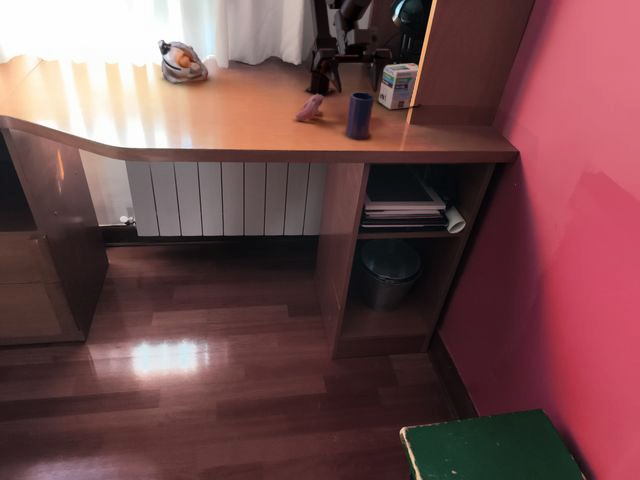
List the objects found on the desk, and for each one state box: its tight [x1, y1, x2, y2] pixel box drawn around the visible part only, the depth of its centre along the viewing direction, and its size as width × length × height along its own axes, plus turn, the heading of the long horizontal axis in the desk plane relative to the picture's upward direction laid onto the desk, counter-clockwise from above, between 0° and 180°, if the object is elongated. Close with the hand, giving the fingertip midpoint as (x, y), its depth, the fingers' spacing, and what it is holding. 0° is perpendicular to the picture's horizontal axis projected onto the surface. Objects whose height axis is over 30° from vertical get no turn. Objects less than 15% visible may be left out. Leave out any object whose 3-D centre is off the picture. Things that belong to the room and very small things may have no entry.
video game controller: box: [295, 93, 325, 122], centre depth 121 cm, size 10×5×7 cm, turn 168°
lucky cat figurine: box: [157, 39, 209, 84], centre depth 133 cm, size 15×12×14 cm
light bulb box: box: [377, 62, 419, 110], centre depth 132 cm, size 11×7×11 cm, turn 117°
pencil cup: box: [345, 91, 375, 140], centre depth 112 cm, size 6×6×10 cm
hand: (358, 92), depth 111 cm, fingers open, 9 cm apart
